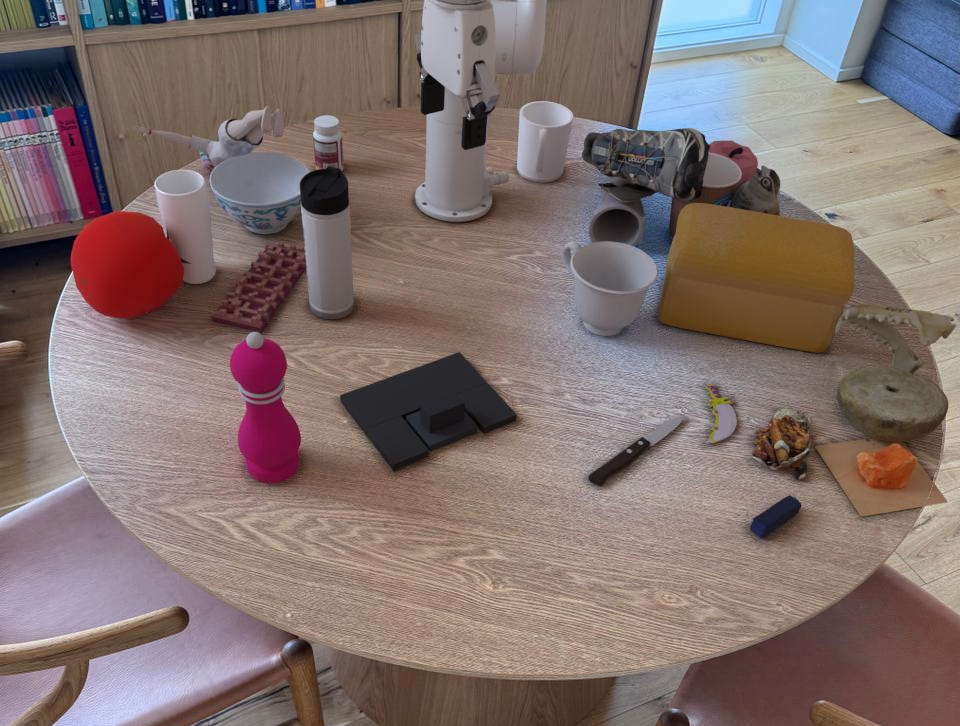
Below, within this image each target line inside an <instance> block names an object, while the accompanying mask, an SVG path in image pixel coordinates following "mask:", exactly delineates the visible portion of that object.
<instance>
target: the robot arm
mask: <svg viewBox="0 0 960 726" xmlns="http://www.w3.org/2000/svg"><path fill="white" fill-rule="evenodd" d="M547 3H548V0H511V1H510V0H424V1H423V8H422V19H421V20H422V21H421V32H419V33H416V34H414V44H415V49H416V53H417V54H416V61H417V64H418V66H419V72H418V78H419V80H420V114H422V115H423V116H426V131H425V132H426V133H425V135H426V136H425V137H426V138H425V140H426V141H425V173H424V174H425V178H424V181H423V182H422V183H420V184H419V186H418V187H417V188H416V190H415V195H414V200H415V204H416V206H417V208H418V209H419V210H420V211H421V213H424V214H425V215H427V216H429V217H430V218H433V219H435V220H440V221H443V222H449V223H462V222H469V221H474V220H477V219H480V218H481V217H483V216H484V215H486V214H487V213H488V212H489V211H490V210H491V208H492V206H493V205H492V204H493V196H492V192H491V191H490V190H491V189H493V188H494V186H498V185H502V184H506V183H508V182H509V181H510V176H509V173H508V171H507V170H502V171H501V170H500V171H498V172H494V168H493V167H492V166H488V167H486V160H487V159H486V158H487V147H488V134H489V133H488V130H489V118H490V116H491V114H492V112H493V111H494V110H495V108H496V104H497V102H498V99H499V98H500V90H499V88H498V87H497V84H496V82H495V81H496V75H506V76H507V75H509V76H528V75H531V74H533V73H535V72H536V71H537V70H538V68H539V67H540V65H541V62H542V58H543V55H544V47H545V36H546V20H547V19H546V18H547Z"/></svg>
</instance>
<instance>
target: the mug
mask: <svg viewBox="0 0 960 726" xmlns="http://www.w3.org/2000/svg"><path fill="white" fill-rule="evenodd" d="M573 121H574V113H573V112H572V110H571V109H570V108H568V107H567V106H565V105H564V104H560V103H558V102H553V101H548V100H547V101H546V100H539V101H538V100H537V101H531V102H528V103H525V104H524V105H522V107H520V109H519V117H518V137H517V155H516V156H517V158H516V171H517V173H518V175H520V176H521V177H522V178H524V179H525V180H527V181H530V182H533V183H542V184H545V183H552V182H555V181H557V180H559V179H560V178H561V177H562V176H563V173H564V170H565V164H566V158H567V153H568V147H569V142H570V138H571V132H572V127H573Z"/></svg>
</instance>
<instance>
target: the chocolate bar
mask: <svg viewBox="0 0 960 726" xmlns="http://www.w3.org/2000/svg"><path fill="white" fill-rule="evenodd" d="M257 255H258V258H257V259H256V260H255V261H254V260H252V262H250V268H249V270H248V271H247V270H244V271H243V273H242V276H241V277H240V278H239V280H237V281H235V283H234V286H235V287H234V289H233V290H232V291H228V292H226V299H225V298H224V299H223V300H222V301H220V302H219V303H218V304H217V305H218V309H217V310H215V309H213V311H212V312H211V316H212V321H214V322H218V323H221V324H225V325H230V326H234V327H239V328H242V329H246V330H251V331H254V332H258V333H262V332H263V331H264V330H265V328H266V327H267V325H268V324H269V322H270V321H271V320H272V318H273V317H274V315H275V314H276V312H277V311H278V310H279V308H280V307H281V306H282V304H283V303H284V301H285V300H286V299H287V297H288V296H289V294H290V293H291V291H292V290H293V289H294V287H295V286H296V284H297V283H298V282H299V280H300V279H301V278H302V276H303V275H304V274H305V272H306V271H307V269H306V258H305V246H302V245H299V246H298V247H297V245H296V244H293V243H291V244H290V246H287V245H284V241H281V240H280V241H278V243H272V242H268V241H267V242H266V244H265V249H264V250H263V251H259V252H258V254H257Z"/></svg>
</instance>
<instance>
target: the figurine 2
mask: <svg viewBox="0 0 960 726" xmlns="http://www.w3.org/2000/svg"><path fill="white" fill-rule="evenodd" d="M780 190H781V179H780V176H779V175H778V173H777V172H776V170H774V169H772V168H768V167H767V166H766V165H761V167H760V168H759V167H757V168H756V174H755V176H754V177H753V178H752V179H751V181H750V180H749V181H744V182H742V183H741V184H739V185H738V186H737V187H736V189H735V190H734V192H733V194H732V197H731V200H730V201H729V207H732V208H737V209H743V210H749V211H755V212H761V213H766V214H772V215H778V216H781V210H780V202H779V199H778V195H779V192H780Z"/></svg>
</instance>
